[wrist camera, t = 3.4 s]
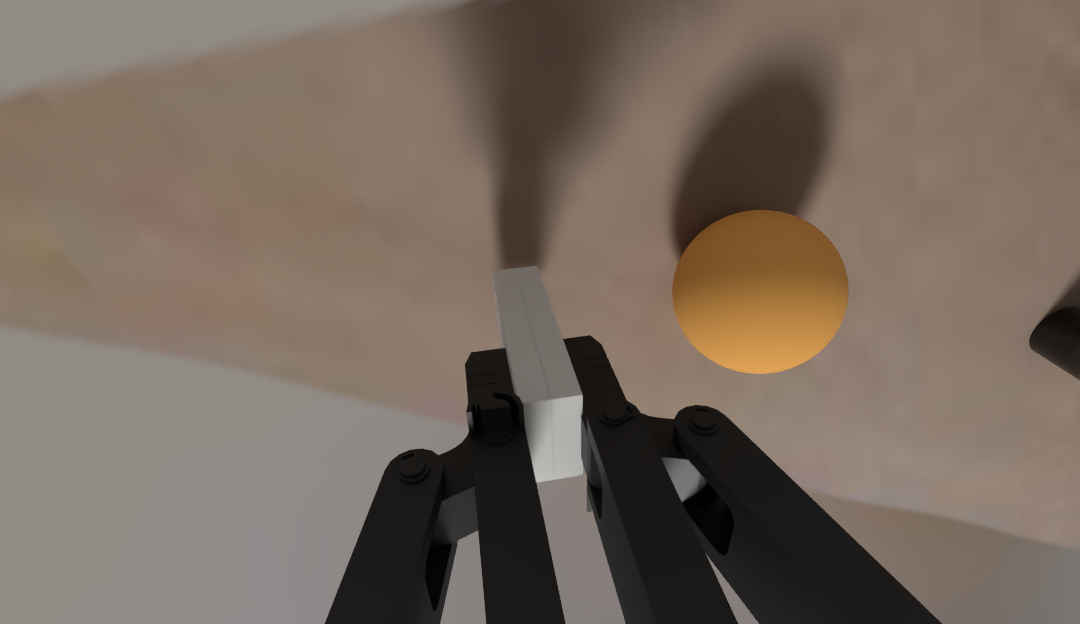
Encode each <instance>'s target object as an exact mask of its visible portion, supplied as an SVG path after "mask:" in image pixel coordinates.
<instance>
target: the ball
mask: <svg viewBox="0 0 1080 624" xmlns="http://www.w3.org/2000/svg"><path fill="white" fill-rule="evenodd" d="M672 296H673V305H674V310H675V314H676V317H677V320H678V323H679V325H680V327H681V329H682V331H683V332H684V334H685V336H686V337H687V338H688V340H689V341H690V342H691V343H692V345H693V346H694V347H695V348H696V349H697V350H698V351H699V352H701V353H702V354H703V355H704V356H706V357H707V358H709V359H710V360H712V361H714V362H715V363H717V364H719V365H721V366H724V367H726V368H729V369H732V370H736V371H739V372H746V373H754V374H763V373H773V372H779V371H783V370H787V369H790V368H792V367H795V366H797V365H800V364H802V363H804V362H806V361H807V360H809V359H810V358H812V357H813V356H815V355H816V354H817V353H819V352H820V351H821V350H822V349H823V348H824V347H825V346H826V345H827V344H828V343H829V342H830V340H831V339H832V338H833V336H834V335H835V333H836V332H837V330H838V329H839V327H840V325H841V323H842V321H843V318H844V315H845V311H846V308H847V303H848V278H847V274H846V270H845V266H844V263H843V261H842V259H841V257H840V255H839V253H838V251H837V249H836V248H835V247H834V245H833V244H832V243H831V241H830V240H829V239H828V238H827V237H826V236H825V235H824V234H823V233H822V232H821V231H820V230H819V229H817V228H816V227H815V226H813V225H812V224H810V223H809V222H807V221H805V220H803V219H801V218H799V217H796V216H794V215H791V214H788V213H784V212H780V211H772V210H750V211H744V212H739V213H735V214H732V215H729V216H727V217H724V218H722V219H720V220H718V221H716V222H715V223H713V224H711V225H710V226H708V227H707V228H705V229H704V230H703V231H702V232H701V233H699V234H698V235H697V236H696V237H695V238H694V239H693V240H692V242H691V243H690V244H689V246H688V247H687V248H686V250H685V251H684V253H683V255H682V256H681V258H680V261H679V263H678V265H677V268H676V271H675V275H674V281H673V290H672Z"/></svg>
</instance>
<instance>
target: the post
mask: <svg viewBox="0 0 1080 624" xmlns="http://www.w3.org/2000/svg"><path fill="white" fill-rule="evenodd" d="M1030 347H1031V349H1032V350H1033V351H1035V352H1036V353H1038V354H1039V355H1041V356H1043V357H1044V358H1046V359H1047V360H1049V361H1050V362H1052V363H1054V364H1055V365H1057V366H1058V367H1060V368H1061V369H1063V370H1064V371H1066V372H1068V373H1069V374H1071V375H1072V376H1074V377H1075V378H1077V379H1079V380H1080V309H1078V308H1075V307H1070V308H1065V309H1062V310H1059V311H1057V312H1055V313H1053V314H1052V315H1050V316H1049V317H1047V318H1046V319H1045V320H1044V321H1042V322H1041V323H1040V324H1039V326H1038V327H1037V328H1036V329H1035V331H1034V332H1033V334H1032V336H1031V338H1030Z"/></svg>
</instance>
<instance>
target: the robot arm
mask: <svg viewBox="0 0 1080 624" xmlns="http://www.w3.org/2000/svg"><path fill="white" fill-rule="evenodd" d="M492 275H493V285H494V295H495V304H496V314H497V324H498V334H499V341H500V347H501V349H493V350H486V351H478V352H471V354H470V356H469V358H468V360H467V362H466V363H465V369H466V381H467V393H468V406H467V411H466V414H467V421H468V427H469V433H468V435H467V437H466V438H465V439H464V441H463V442H462V443H461V444H460V445H458V446H457V447H455V448H453V449H452V450H450V451H448V452H445V453H443V454H441V455H437V454H436V453H434V452H433V451H431V450H425V449H414V450H409V451H407V452H404V453H402V454H399V455H398V456H397V457H396V458H394V459H393V460H392V461H390V463H389V465H388V466H387V468H386V469H385V471H384V474H383V476H382V479H381V482H380V484H379V487H378V489H377V492H376V494H375V497H374V499H373V502H372V504H371V507H370V510H369V512H368V515H367V517H366V520H365V522H364V525H363V527H362V530H361V533H360V535H359V538H358V541H357V543H356V546H355V548H354V550H353V553H352V556H351V558H350V561H349V563H348V566H347V569H346V571H345V574H344V576H343V579H342V581H341V584H340V587H339V589H338V591H337V594H336V597H335V599H334V602H333V604H332V607H331V609H330V612H329V615H328V617H327V620H326V622H325V624H440V621H441V617H442V612H443V608H444V603H445V598H446V594H447V589H448V585H449V580H450V576H451V571H452V567H453V562H454V557H455V553H456V548H457V540H459V539H461V538H463V537H465V536H467V535H469V534H471V533H473V532H475V531H477V530H478V531H479V544H480V555H481V567H482V577H483V589H484V600H485V612H486V623H487V624H565V620H564V614H563V610H562V605H561V600H560V595H559V590H558V585H557V580H556V576H555V571H554V567H553V561H552V557H551V552H550V547H549V542H548V537H547V532H546V527H545V523H544V518H543V513H542V508H541V504H540V499H539V495H538V489H537V484H536V483H537V482H543V481H549V480H555V479H561V478H567V477H573V476H579V475H583V465H584V468H585V472H586V475H587V512H590V511H592V510H593V513H594V517H595V520H596V523H597V527H598V530H599V534H600V537H601V540H602V544H603V547H604V551H605V554H606V558H607V561H608V564H609V567H610V571H611V575H612V578H613V581H614V585H615V588H616V592H617V595H618V598H619V602H620V605H621V609H622V612H623V616H624V619H625V622H626V624H738V623H737V620H736V618H735V616H734V614H733V612H732V610H731V607H730V605H729V603H728V601H727V599H726V597H725V594H724V592H723V590H722V588H721V586H720V584H719V582H718V579H717V577H716V575H715V573H714V571H713V569H712V566H711V564H710V562H709V560H708V558H707V556H708V557H709V558H710V559H711V561H712V562H713V563H714V565H715V566H716V567H717V569H718V570H719V571H720V573H721V574H722V575H723V577H724V578H725V579H726V581H727V582H728V583H729V584H730V586H731V587H732V588H733V590H734V591H735V592H736V594H737V595H738V596H739V598H740V599H741V600H742V602H743V603H744V604H745V605H746V607H747V608H748V609H749V611H750V612H751V613H752V615H753V616H754V617H755V619H756V620H757V621H758V622H759V624H942V623H941V622H940V621H939V620H938V619H937V618H936V617H934V616H933V615H932V614H931V613H930V612H929V611H928V610H927V609H926V608H925V607H924V606H923V605H922V604H921V603H920V602H919V601H918V600H917V599H916V598H915V597H914V596H913V595H912V594H911V593H910V592H909V591H907V590H906V589H905V588H904V587H903V586H902V585H901V584H900V583H899V582H898V581H897V580H896V579H895V578H894V577H893V576H892V575H891V574H890V573H889V572H888V571H887V570H886V569H885V568H884V567H882V566H881V565H880V564H879V563H878V562H877V561H876V560H875V559H874V558H873V557H872V556H871V555H870V554H869V553H868V552H867V551H866V550H865V549H864V548H863V547H862V546H861V545H859V544H858V543H857V542H856V541H855V540H854V539H853V538H852V537H851V536H850V535H849V534H848V533H847V532H846V531H845V530H844V529H843V528H842V527H841V526H840V525H839V524H838V523H837V522H836V521H835V520H834V519H832V518H831V517H830V516H829V515H828V514H827V513H826V512H825V511H824V510H823V509H822V508H821V507H820V506H819V505H818V504H817V503H816V502H815V501H814V500H813V499H812V498H811V497H810V496H809V495H808V494H807V493H806V492H804V491H803V490H802V489H801V488H800V487H799V486H798V485H797V484H796V483H795V482H794V481H793V480H792V479H791V478H790V477H789V476H788V475H787V474H786V473H785V472H784V471H783V470H782V469H781V468H779V467H778V466H777V465H776V464H775V463H774V462H773V461H772V460H771V459H770V458H769V457H768V456H767V455H766V454H765V453H764V452H763V451H762V450H761V449H760V448H759V447H758V446H757V445H756V444H755V443H753V442H752V441H751V440H750V439H749V438H748V437H747V436H746V435H745V434H744V433H743V432H742V431H741V430H740V429H739V428H738V427H737V426H736V425H735V424H734V423H733V422H732V421H731V420H730V419H729V418H727V417H726V416H725V415H724V414H722V413H721V412H720V411H718V410H716V409H714V408H711V407H708V406H700V405H694V406H689V407H685V408H684V409H682V410H680V411H679V412H678V413H677V415H676V417H675V419H666V418H657V417H651V416H647V415H645V414H642V413H640V411H639V410H638V409H637V408H636V406H635V405H633V404H631V403H630V402H628V401H627V400H626V398H625V396H624V393H623V391H622V389H621V387H620V385H619V382H618V380H617V378H616V376H615V373H614V371H613V369H612V367H611V364H610V362H609V360H608V358H607V356H606V353H605V351H604V349H603V347H602V345H601V344H600V343H599V342H598V341H597V340H595V339H594V338H593V337H592V336H590V335H589V336H582V337H574V338H567V339H563V338H562V335H561V332H560V329H559V326H558V324H557V321H556V318H555V315H554V312H553V309H552V307H551V304H550V301H549V298H548V295H547V292H546V290H545V287H544V284H543V281H542V278H541V275H540V273H539V270H538V267H537V266H529V267H521V268H512V269H504V270H495V271H492ZM591 509H592V510H591ZM706 554H707V556H706Z"/></svg>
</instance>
